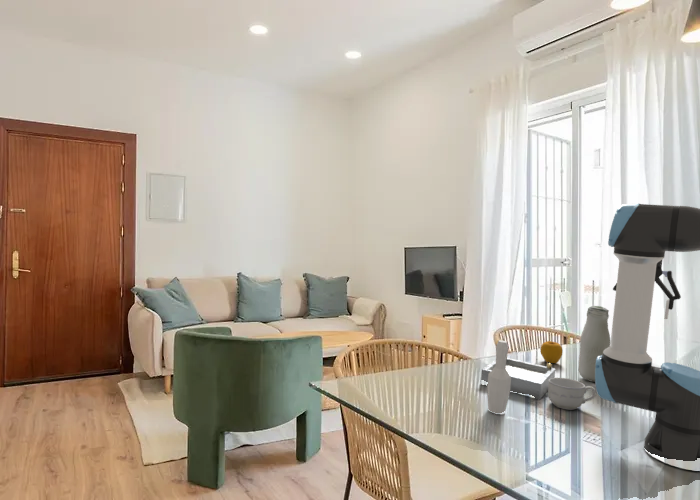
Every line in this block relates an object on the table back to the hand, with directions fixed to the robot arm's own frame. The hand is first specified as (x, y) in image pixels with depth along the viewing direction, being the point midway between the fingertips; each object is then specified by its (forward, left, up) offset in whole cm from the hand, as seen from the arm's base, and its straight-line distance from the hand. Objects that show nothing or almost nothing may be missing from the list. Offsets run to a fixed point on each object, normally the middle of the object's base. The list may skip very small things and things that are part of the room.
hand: (643, 314), depth 172 cm
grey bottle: (0, +14, -28) cm, 31 cm away
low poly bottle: (-53, +32, -28) cm, 68 cm away
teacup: (-33, +15, -28) cm, 46 cm away
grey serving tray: (-24, +34, -27) cm, 50 cm away
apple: (+11, +31, -28) cm, 43 cm away
